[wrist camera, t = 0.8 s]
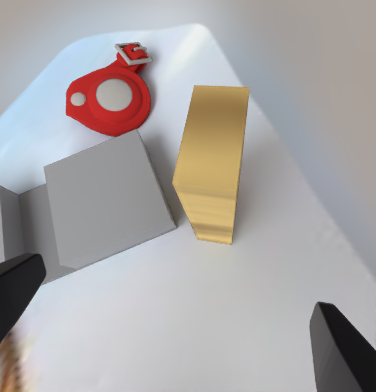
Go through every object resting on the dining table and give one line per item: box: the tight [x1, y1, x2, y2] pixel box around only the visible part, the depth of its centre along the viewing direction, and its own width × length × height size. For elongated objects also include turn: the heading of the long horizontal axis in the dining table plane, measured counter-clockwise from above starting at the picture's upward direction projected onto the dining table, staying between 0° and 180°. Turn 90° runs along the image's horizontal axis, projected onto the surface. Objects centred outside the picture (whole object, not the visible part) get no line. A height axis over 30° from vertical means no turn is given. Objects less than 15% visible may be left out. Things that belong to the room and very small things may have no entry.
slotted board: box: [0, 129, 177, 285], centre depth 24 cm, size 10×24×3 cm, turn 112°
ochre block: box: [172, 85, 250, 245], centre depth 18 cm, size 6×3×12 cm, turn 170°
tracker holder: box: [66, 42, 152, 137], centre depth 30 cm, size 12×4×10 cm
